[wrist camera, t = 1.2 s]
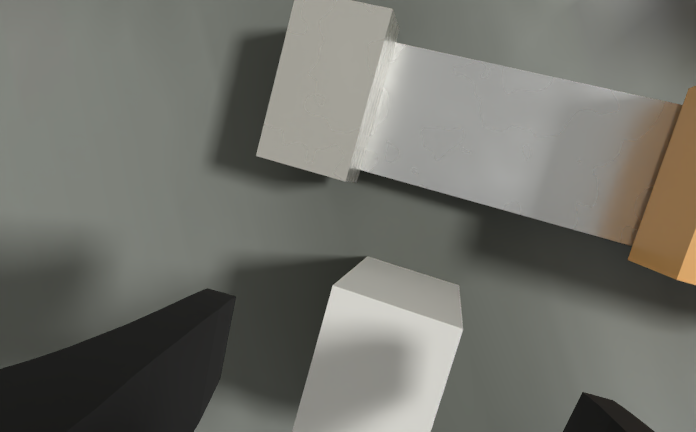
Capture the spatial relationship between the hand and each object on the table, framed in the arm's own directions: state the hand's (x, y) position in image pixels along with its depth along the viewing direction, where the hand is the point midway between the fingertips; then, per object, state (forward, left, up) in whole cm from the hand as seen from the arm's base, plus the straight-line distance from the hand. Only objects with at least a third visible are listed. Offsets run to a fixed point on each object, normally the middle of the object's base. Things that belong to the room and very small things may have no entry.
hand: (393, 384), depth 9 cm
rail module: (-3, +1, -10) cm, 11 cm away
